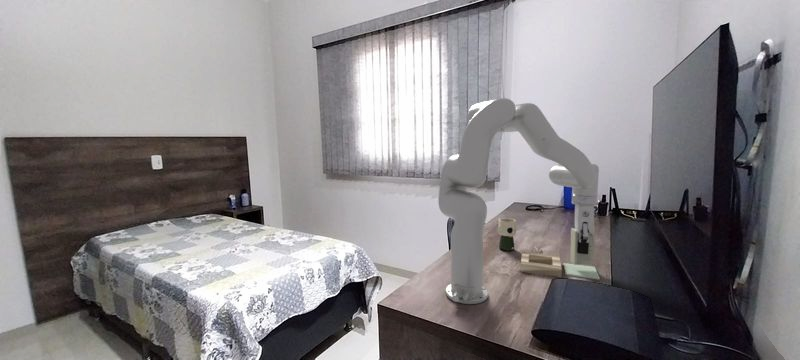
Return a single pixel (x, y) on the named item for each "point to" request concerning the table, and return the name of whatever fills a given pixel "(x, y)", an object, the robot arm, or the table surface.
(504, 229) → the character mug
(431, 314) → the table surface
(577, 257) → the skincare box
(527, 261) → the holder block
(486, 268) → the table surface
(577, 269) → the sage mat
